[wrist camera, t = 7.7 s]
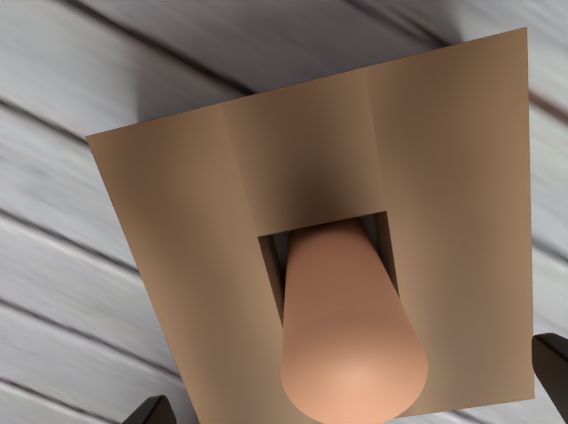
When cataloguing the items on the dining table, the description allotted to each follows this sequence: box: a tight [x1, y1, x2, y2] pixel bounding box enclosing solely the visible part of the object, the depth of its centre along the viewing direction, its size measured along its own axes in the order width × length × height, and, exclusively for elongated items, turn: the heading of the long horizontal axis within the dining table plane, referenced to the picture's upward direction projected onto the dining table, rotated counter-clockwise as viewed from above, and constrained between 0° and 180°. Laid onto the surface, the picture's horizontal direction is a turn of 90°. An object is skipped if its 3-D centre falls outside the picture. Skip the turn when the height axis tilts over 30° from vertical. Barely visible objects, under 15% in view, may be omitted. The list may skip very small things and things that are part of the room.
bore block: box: [85, 27, 535, 424], centre depth 15 cm, size 14×14×4 cm
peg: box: [280, 217, 428, 424], centre depth 13 cm, size 4×4×8 cm
